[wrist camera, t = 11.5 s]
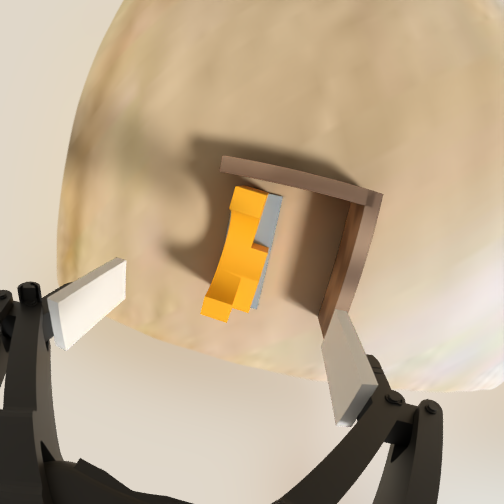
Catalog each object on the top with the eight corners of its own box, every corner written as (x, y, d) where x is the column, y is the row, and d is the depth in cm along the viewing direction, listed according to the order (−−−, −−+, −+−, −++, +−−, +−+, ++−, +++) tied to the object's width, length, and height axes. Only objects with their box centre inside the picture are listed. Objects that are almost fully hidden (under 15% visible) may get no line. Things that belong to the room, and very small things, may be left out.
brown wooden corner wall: (231, 159, 28) (222, 155, 23) (366, 191, 27) (383, 194, 22) (207, 292, 32) (195, 311, 27) (329, 318, 31) (337, 341, 26)
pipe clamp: (251, 300, 31) (244, 328, 25) (215, 288, 31) (200, 313, 25) (285, 198, 28) (287, 202, 22) (244, 185, 28) (235, 186, 22)
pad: (235, 186, 28) (235, 186, 28) (282, 196, 28) (282, 196, 28) (215, 298, 32) (214, 299, 31) (256, 308, 32) (256, 309, 31)
